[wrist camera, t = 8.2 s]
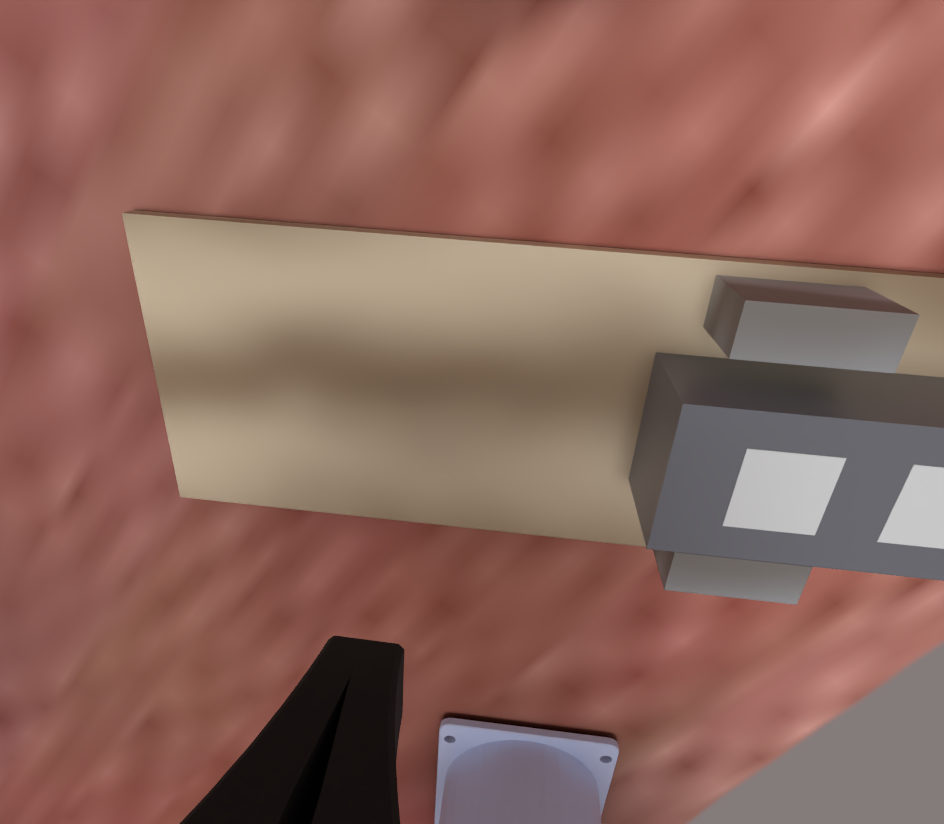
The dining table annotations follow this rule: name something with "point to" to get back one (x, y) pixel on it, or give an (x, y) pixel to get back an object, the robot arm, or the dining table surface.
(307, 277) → the mount
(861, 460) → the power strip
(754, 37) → the dining table surface
